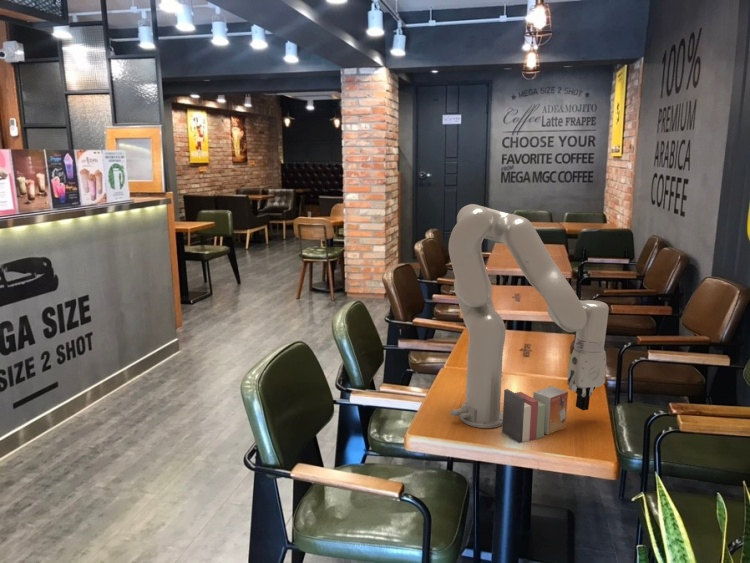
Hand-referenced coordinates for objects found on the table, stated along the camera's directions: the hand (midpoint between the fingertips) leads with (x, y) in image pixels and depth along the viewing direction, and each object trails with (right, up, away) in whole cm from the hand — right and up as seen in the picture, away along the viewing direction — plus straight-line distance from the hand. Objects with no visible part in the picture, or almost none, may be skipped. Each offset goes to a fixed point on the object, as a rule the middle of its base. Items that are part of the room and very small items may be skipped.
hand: (581, 408), depth 163 cm
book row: (-19, -5, -9) cm, 21 cm away
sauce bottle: (+9, +2, +29) cm, 30 cm away
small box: (-11, -5, -4) cm, 12 cm away
